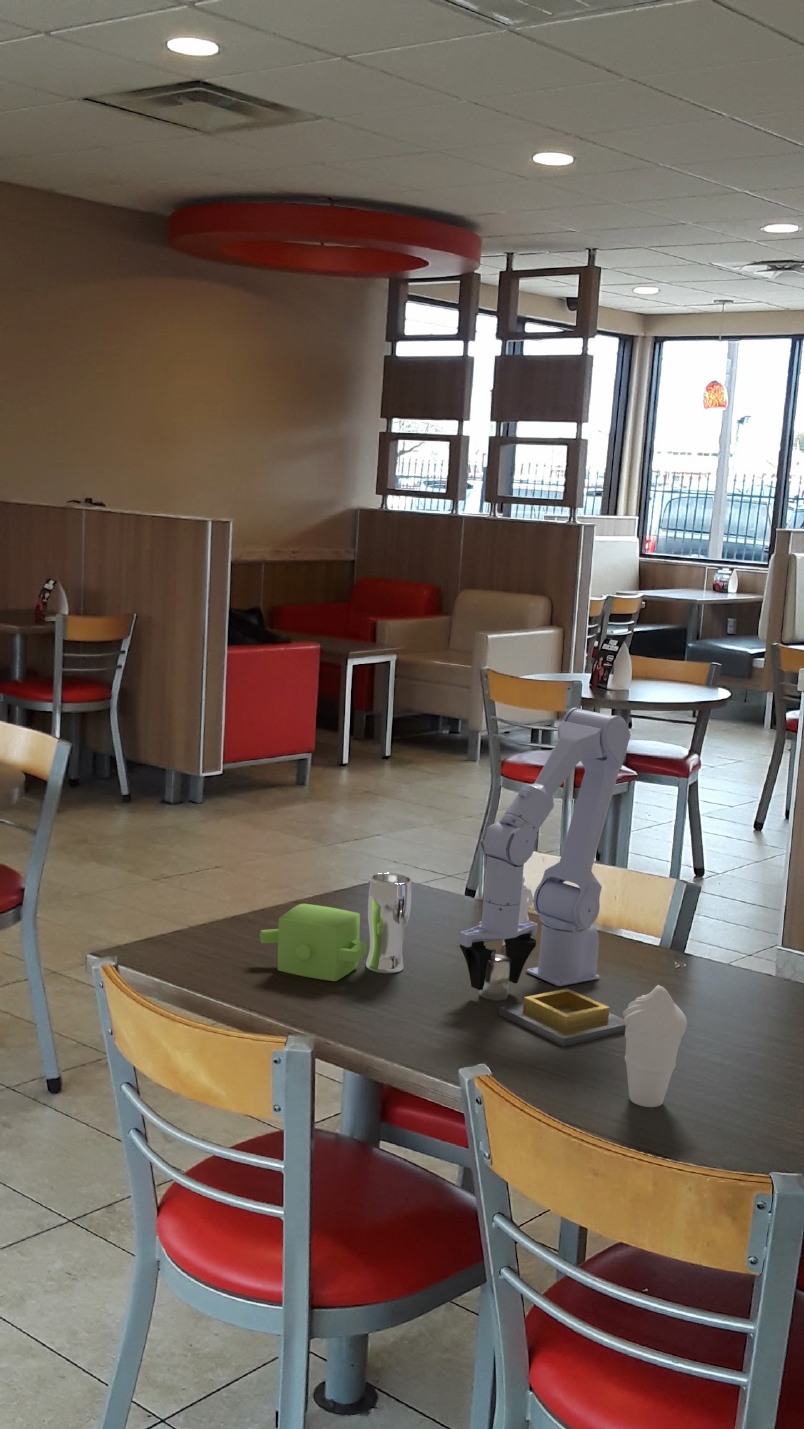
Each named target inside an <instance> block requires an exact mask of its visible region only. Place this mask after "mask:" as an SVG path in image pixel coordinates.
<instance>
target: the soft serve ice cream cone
mask: <svg viewBox="0 0 804 1429" xmlns="http://www.w3.org/2000/svg"><path fill="white" fill-rule="evenodd" d="M622 1016H623V1017H624V1018H623V1019H624V1020H623V1023H624V1024H625V1026H626V1029H625V1032H624V1036H625V1054H624V1061H625V1064H626V1073H627V1084H628V1085H627V1086H628V1095H629V1096H628V1097H629V1100H630V1102H632V1104H635V1105H638V1106H640V1107H644V1108H657V1107H659V1106H661V1105H663V1104H664V1100H665V1097H666V1094H667V1091H668V1087H669V1084H670V1081H671V1078H672V1074H673V1072H674V1070H675V1068H677V1064H676V1061H677V1058H678V1057H677V1056H678V1052H679V1046H680V1045H681V1043H682V1038H683V1036H685V1035H684V1034H685V1032H686V1030H687V1027H688V1019H687V1017H686V1015H685V1013H684V1012H683V1011H682V1009H681V1008H680V1007H679V1006H678V1005H677V1003H675V1002H674V1000H673V998H672V996H671V995H670V994H669V992H668V990H667V989H666V988H665V987H664V986H662V985H659V984H657V985H656V986H655V987H654V988H653V989H652V990H651V991H650V992H649V993H647V994H642V995H641V996H637V997H636V998H635V1000H633V1001H631V1002H629V1004H628V1005H627V1008H626V1009H625V1010H623V1012H622Z"/></svg>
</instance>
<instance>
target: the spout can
mask: <svg viewBox="0 0 804 1429" xmlns="http://www.w3.org/2000/svg"><path fill="white" fill-rule="evenodd" d="M488 949H489V950H491V951H492V954H491V956H490V959H489V961H488V965H487V968H486V974H485V982H484V987H483V990H479V996H480V997H482V998H484V999H486V1000H491V1001H504V1000H506V999H508V997H509V985H510V981H509V976H510V965H511V959H510V958H509V957H507V956H506V955H505V954H500V953H496V952H497V951H496V948H490V947H489V948H488Z"/></svg>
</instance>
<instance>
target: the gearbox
mask: <svg viewBox="0 0 804 1429" xmlns="http://www.w3.org/2000/svg"><path fill="white" fill-rule="evenodd" d="M360 921H361V914H360V913H359V912H356V911H350V910H347V909H340V908H336V907H330V906H323V905H317V904H310V903H309V904H308V903H300V904H296V906H294V907H292V908H290V909H289V910H288V911H286V912H285V913H284V914H283V915H281V916H280V917H278V927H277V928H273V929H272V928H271V929H263V930H260V932H259V938H260V944H275V943H276V944H277V971H279V972H283V973H287V974H290V975H296V976H301V977H305V978H313V979H316V980H317V979H318V980H322V981H323V980H324V981H328V982H330V981H331V982H337V981H339V980H341V979H342V978H344V977H346V976H347V975H349V974H350V973H351V972H353V971H354V970H355V969H356V968H357V967H358V966H359V961H360V960H361V959H362V958H363V959H364V957H365V956H366V955H367V956H368V943H366V942H364V941H362V940H360V929H361V927H360V926H361V922H360Z"/></svg>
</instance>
